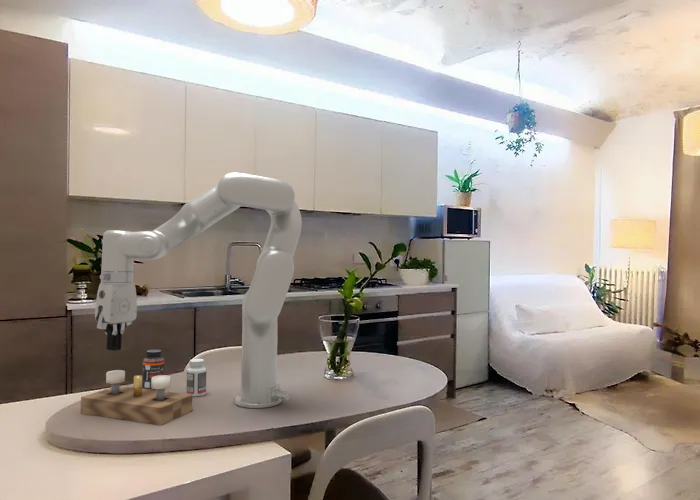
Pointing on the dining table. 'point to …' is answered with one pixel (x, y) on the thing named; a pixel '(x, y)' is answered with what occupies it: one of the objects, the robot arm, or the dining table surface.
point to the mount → (137, 405)
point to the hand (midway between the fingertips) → (113, 349)
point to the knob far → (115, 380)
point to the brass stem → (137, 386)
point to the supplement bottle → (152, 367)
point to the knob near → (160, 386)
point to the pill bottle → (196, 378)
